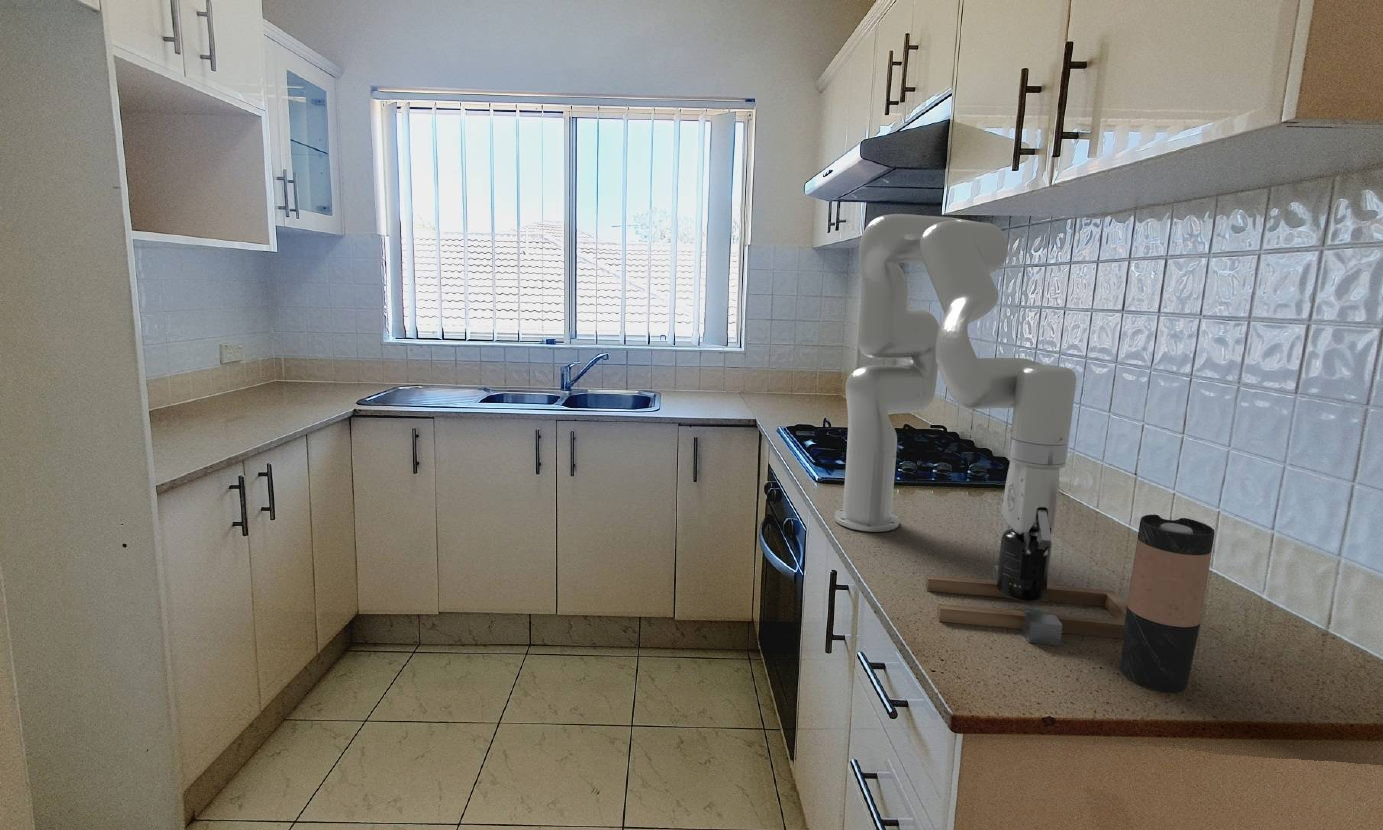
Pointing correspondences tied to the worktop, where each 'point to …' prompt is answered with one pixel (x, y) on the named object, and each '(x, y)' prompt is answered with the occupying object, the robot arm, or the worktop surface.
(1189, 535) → the travel mug
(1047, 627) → the pivot blocks
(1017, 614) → the walnut rails
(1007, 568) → the supplement bottle
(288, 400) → the worktop surface
